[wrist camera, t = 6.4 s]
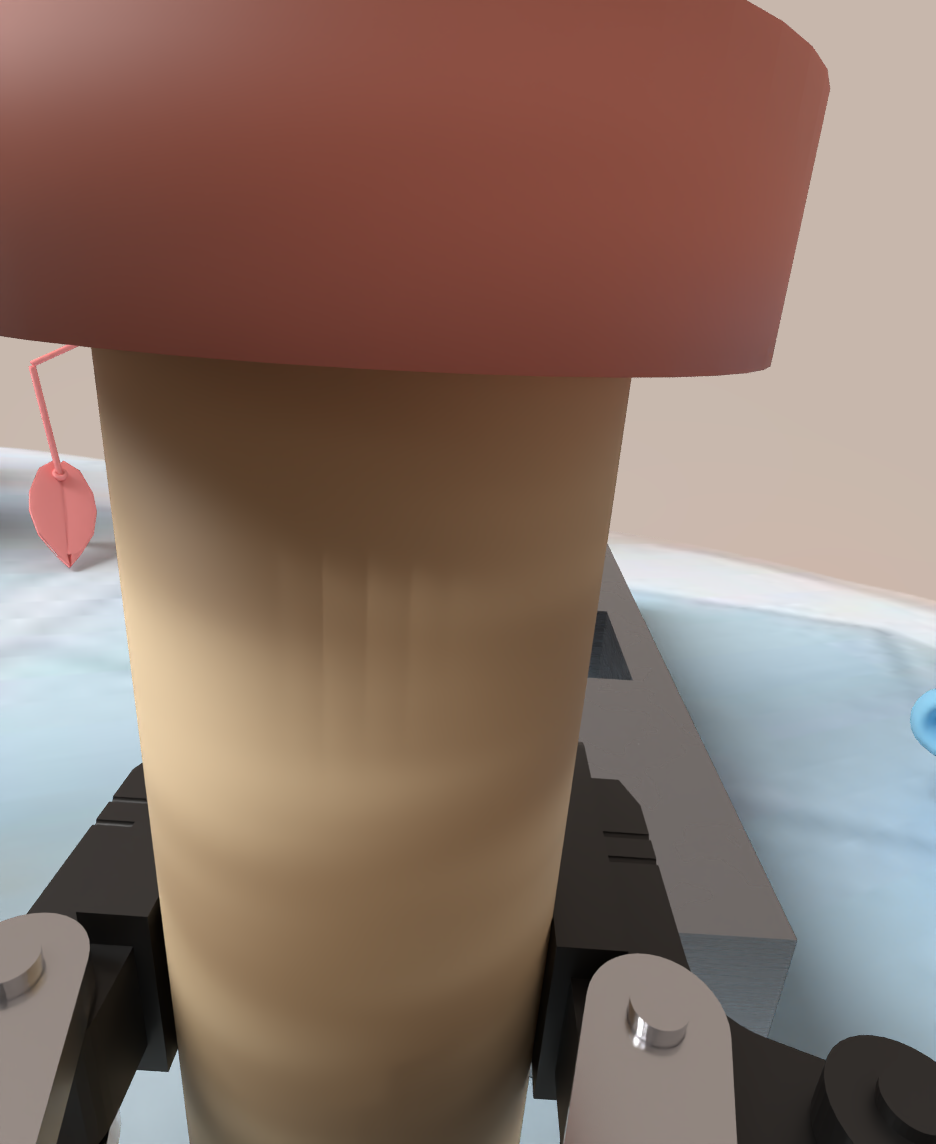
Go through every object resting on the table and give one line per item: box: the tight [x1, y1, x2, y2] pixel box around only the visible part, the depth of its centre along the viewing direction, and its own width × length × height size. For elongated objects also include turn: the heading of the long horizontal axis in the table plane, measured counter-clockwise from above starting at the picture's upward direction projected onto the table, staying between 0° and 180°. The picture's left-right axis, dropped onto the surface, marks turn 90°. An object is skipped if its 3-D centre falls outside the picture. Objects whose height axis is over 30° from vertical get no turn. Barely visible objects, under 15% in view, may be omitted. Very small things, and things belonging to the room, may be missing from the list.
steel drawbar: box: [529, 544, 797, 1077], centre depth 30 cm, size 9×28×5 cm, turn 179°
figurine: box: [29, 345, 97, 568], centre depth 42 cm, size 15×26×35 cm, turn 146°
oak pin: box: [0, 0, 830, 1144], centre depth 8 cm, size 6×6×18 cm
